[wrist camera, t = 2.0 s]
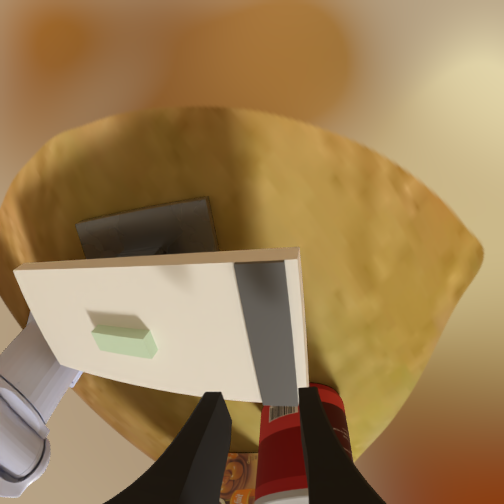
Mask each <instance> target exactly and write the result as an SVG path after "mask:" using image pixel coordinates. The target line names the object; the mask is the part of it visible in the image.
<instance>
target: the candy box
mask: <svg viewBox="0 0 504 504" xmlns="http://www.w3.org/2000/svg"><path fill="white" fill-rule="evenodd" d="M257 462H258V453H228V458H227V462H226V467H225V472H224V477H223V481H222V486H221V492H220V500H219V504H254V500H255V486H256V474H257Z"/></svg>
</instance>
